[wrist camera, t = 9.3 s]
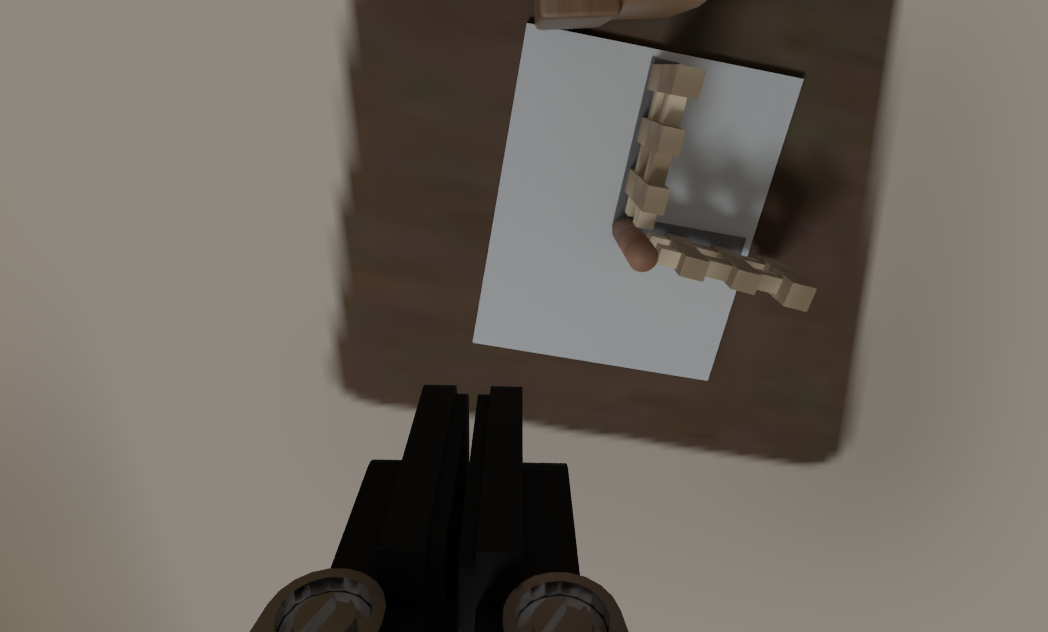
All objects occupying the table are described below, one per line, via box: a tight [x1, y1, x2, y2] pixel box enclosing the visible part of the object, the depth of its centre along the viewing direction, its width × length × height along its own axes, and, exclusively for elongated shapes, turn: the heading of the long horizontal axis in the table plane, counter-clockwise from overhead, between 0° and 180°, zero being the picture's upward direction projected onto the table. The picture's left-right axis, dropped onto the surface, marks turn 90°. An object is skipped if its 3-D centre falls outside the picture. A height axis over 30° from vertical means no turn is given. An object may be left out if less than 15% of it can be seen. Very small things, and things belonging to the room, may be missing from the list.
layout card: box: [473, 23, 804, 381], centre depth 35 cm, size 17×14×1 cm
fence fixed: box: [625, 64, 706, 230], centre depth 31 cm, size 7×1×6 cm, turn 170°
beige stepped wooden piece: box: [612, 217, 817, 312], centre depth 33 cm, size 9×1×5 cm, turn 75°
